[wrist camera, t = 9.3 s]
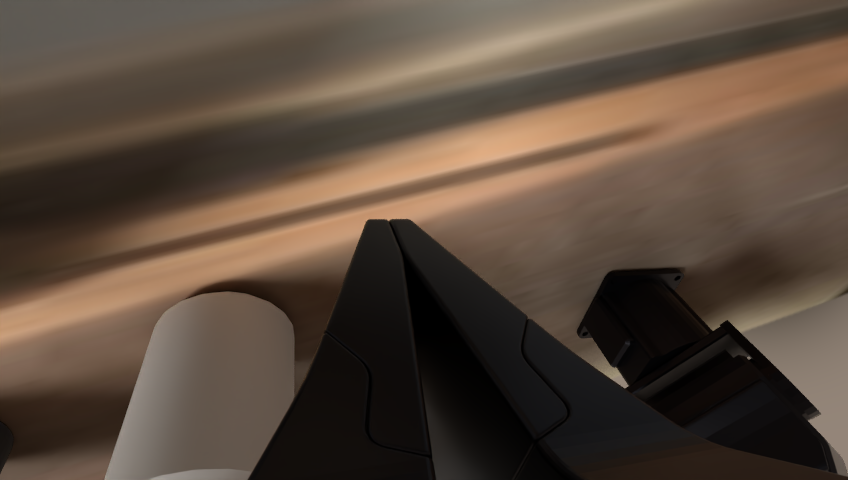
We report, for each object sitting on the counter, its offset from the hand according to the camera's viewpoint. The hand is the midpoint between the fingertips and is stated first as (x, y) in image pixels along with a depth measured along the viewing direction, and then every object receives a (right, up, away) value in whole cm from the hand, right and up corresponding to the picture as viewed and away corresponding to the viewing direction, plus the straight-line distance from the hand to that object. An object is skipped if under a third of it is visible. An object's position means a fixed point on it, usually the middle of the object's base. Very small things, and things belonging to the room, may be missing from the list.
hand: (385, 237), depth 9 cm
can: (-11, -5, +18) cm, 21 cm away
